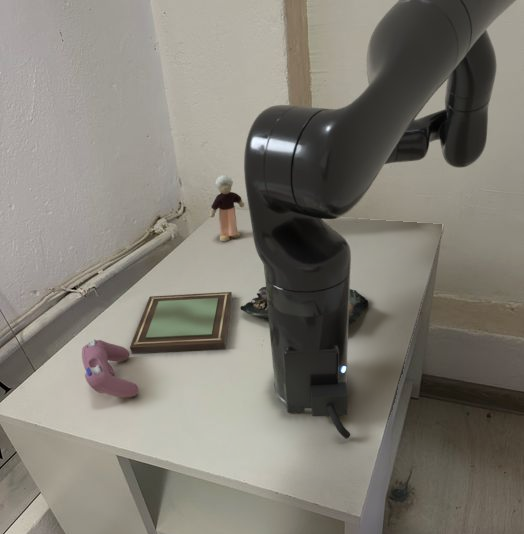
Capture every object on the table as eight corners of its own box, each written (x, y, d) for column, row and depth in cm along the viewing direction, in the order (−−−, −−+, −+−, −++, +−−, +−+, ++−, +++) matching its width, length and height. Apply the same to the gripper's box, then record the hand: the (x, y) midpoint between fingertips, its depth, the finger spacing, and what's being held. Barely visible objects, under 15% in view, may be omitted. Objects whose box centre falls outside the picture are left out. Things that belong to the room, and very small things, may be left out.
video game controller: (107, 370, 72) (72, 342, 67) (131, 351, 71) (97, 322, 67) (116, 413, 64) (76, 386, 60) (143, 393, 64) (105, 364, 59)
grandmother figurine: (222, 245, 97) (213, 183, 90) (211, 240, 100) (201, 179, 92) (251, 232, 101) (245, 171, 93) (239, 227, 104) (232, 167, 96)
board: (225, 349, 71) (223, 341, 70) (131, 353, 72) (129, 346, 71) (232, 297, 82) (231, 290, 81) (151, 302, 83) (149, 295, 82)
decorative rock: (226, 305, 72) (264, 253, 82) (234, 336, 76) (270, 283, 86) (350, 319, 65) (375, 259, 75) (352, 352, 69) (376, 292, 79)
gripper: (364, 112, 92) (279, 120, 93) (376, 133, 81) (279, 141, 82) (362, 153, 96) (281, 160, 98) (373, 178, 85) (281, 185, 87)
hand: (280, 151), depth 90 cm, fingers open, 8 cm apart
